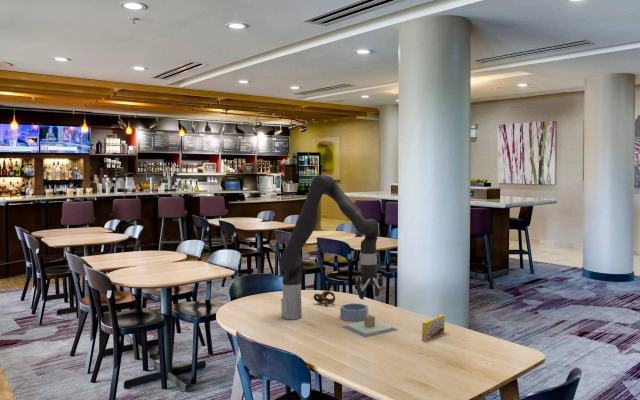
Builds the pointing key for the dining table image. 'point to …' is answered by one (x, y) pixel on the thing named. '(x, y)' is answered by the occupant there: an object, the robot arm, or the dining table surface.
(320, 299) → the brown looped knot
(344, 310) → the bowl
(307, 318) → the dining table surface
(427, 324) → the candy box
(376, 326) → the lid
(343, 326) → the mat
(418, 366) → the dining table surface
